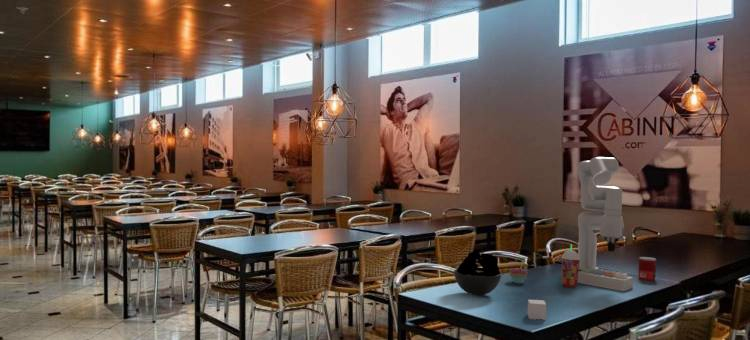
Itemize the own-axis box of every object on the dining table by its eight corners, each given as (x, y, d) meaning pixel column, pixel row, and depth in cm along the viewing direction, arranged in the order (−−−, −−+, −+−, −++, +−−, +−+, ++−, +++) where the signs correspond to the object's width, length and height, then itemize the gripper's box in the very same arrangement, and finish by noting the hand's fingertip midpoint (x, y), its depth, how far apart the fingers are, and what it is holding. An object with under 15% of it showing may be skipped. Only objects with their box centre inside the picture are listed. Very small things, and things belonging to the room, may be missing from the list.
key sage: (582, 275, 290) (582, 267, 290) (585, 274, 293) (586, 266, 293) (590, 277, 287) (590, 268, 287) (593, 276, 290) (594, 267, 290)
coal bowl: (490, 303, 241) (492, 257, 240) (445, 295, 251) (447, 251, 251) (506, 294, 258) (508, 251, 257) (464, 287, 268) (466, 246, 268)
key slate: (593, 277, 286) (593, 269, 286) (596, 276, 289) (596, 268, 289) (601, 279, 284) (601, 270, 283) (604, 278, 286) (604, 269, 286)
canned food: (657, 281, 298) (658, 259, 298) (640, 280, 299) (641, 258, 299) (653, 278, 305) (654, 257, 305) (636, 277, 307) (637, 256, 307)
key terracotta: (604, 279, 283) (604, 270, 282) (607, 278, 285) (607, 270, 285) (612, 281, 280) (612, 272, 280) (615, 280, 283) (616, 271, 283)
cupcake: (528, 282, 285) (529, 257, 285) (525, 285, 278) (526, 260, 277) (510, 279, 289) (511, 255, 289) (507, 283, 281) (508, 258, 281)
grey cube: (545, 320, 218) (546, 304, 218) (529, 319, 219) (529, 303, 219) (543, 316, 224) (544, 300, 224) (527, 314, 225) (527, 299, 225)
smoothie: (578, 285, 281) (580, 243, 281) (578, 289, 274) (580, 246, 273) (560, 283, 284) (562, 242, 284) (560, 287, 276) (561, 244, 276)
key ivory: (615, 281, 279) (615, 272, 279) (618, 280, 282) (619, 271, 282) (623, 283, 276) (624, 274, 276) (627, 281, 279) (627, 273, 279)
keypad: (576, 282, 289) (576, 272, 288) (585, 279, 296) (586, 269, 296) (623, 291, 273) (624, 280, 272) (632, 287, 281) (633, 277, 280)
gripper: (594, 212, 284) (592, 249, 285) (625, 215, 274) (624, 254, 274) (600, 211, 290) (599, 248, 290) (631, 214, 279) (630, 252, 280)
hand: (611, 251), depth 282 cm, fingers closed
